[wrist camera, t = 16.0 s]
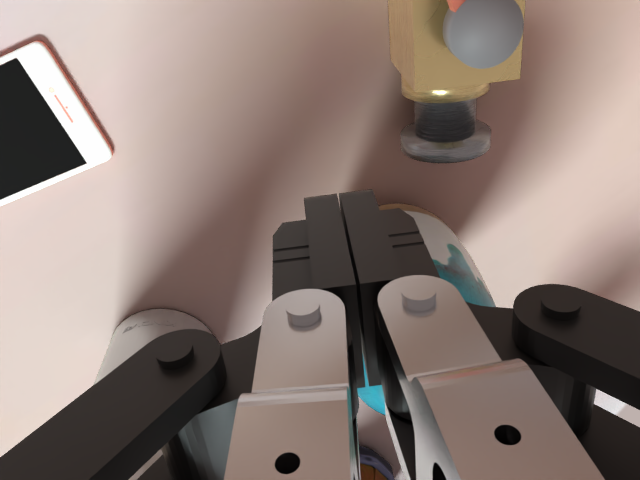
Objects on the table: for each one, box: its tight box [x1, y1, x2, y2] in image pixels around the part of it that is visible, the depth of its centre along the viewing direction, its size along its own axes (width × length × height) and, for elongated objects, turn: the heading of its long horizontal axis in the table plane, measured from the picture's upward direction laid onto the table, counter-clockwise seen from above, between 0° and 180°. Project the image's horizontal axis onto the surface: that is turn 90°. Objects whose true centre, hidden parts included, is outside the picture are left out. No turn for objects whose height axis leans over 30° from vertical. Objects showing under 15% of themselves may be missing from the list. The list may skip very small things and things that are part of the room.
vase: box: [357, 204, 496, 415], centre depth 39 cm, size 11×11×19 cm
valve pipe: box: [388, 0, 525, 163], centre depth 34 cm, size 18×6×9 cm, turn 6°
